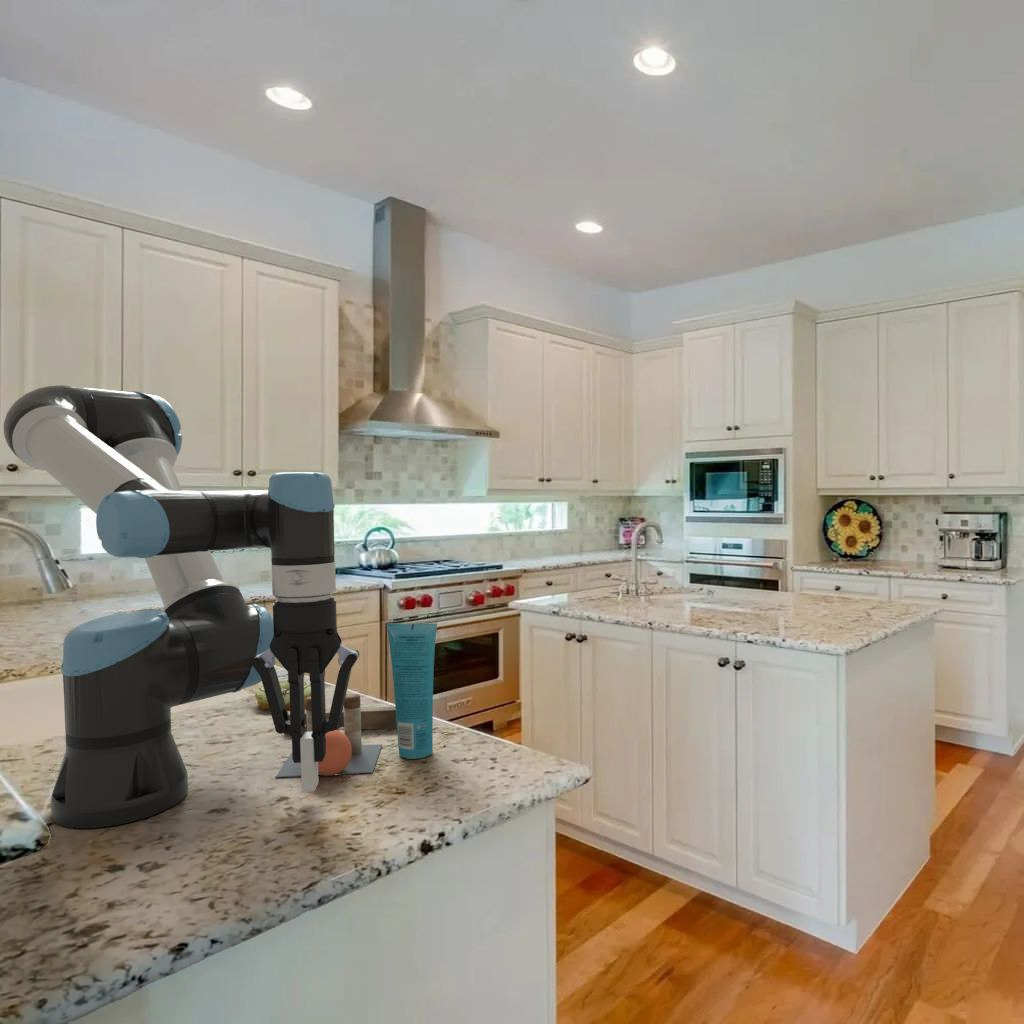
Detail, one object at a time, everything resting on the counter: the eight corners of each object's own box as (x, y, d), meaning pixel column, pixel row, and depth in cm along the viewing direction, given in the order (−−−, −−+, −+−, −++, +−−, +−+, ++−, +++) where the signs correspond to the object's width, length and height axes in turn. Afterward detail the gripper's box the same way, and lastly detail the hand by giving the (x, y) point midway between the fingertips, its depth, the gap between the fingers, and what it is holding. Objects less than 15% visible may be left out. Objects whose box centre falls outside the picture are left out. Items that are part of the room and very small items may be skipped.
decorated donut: (280, 717, 126) (280, 695, 125) (243, 707, 132) (243, 687, 132) (327, 701, 134) (326, 681, 134) (290, 693, 140) (290, 674, 140)
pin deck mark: (275, 778, 97) (275, 776, 97) (294, 749, 108) (294, 748, 108) (372, 773, 98) (372, 771, 98) (381, 745, 109) (381, 744, 109)
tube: (442, 747, 107) (438, 619, 107) (438, 759, 102) (435, 625, 102) (392, 748, 107) (389, 620, 107) (386, 760, 102) (383, 626, 102)
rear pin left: (343, 757, 104) (342, 699, 104) (346, 751, 107) (344, 694, 106) (360, 756, 104) (358, 698, 104) (362, 750, 107) (361, 693, 107)
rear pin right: (306, 758, 104) (304, 700, 104) (309, 753, 106) (307, 696, 106) (322, 758, 104) (321, 700, 104) (326, 752, 106) (324, 695, 106)
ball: (315, 734, 102) (308, 778, 99) (306, 724, 97) (298, 770, 94) (357, 735, 102) (352, 779, 99) (350, 725, 97) (344, 772, 94)
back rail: (284, 733, 116) (283, 714, 116) (287, 729, 118) (286, 711, 118) (409, 727, 117) (408, 709, 117) (410, 723, 119) (409, 705, 119)
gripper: (241, 603, 84) (247, 802, 85) (353, 600, 85) (359, 797, 86) (259, 595, 92) (265, 778, 92) (362, 591, 93) (367, 773, 93)
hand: (310, 787), depth 89 cm, fingers closed
